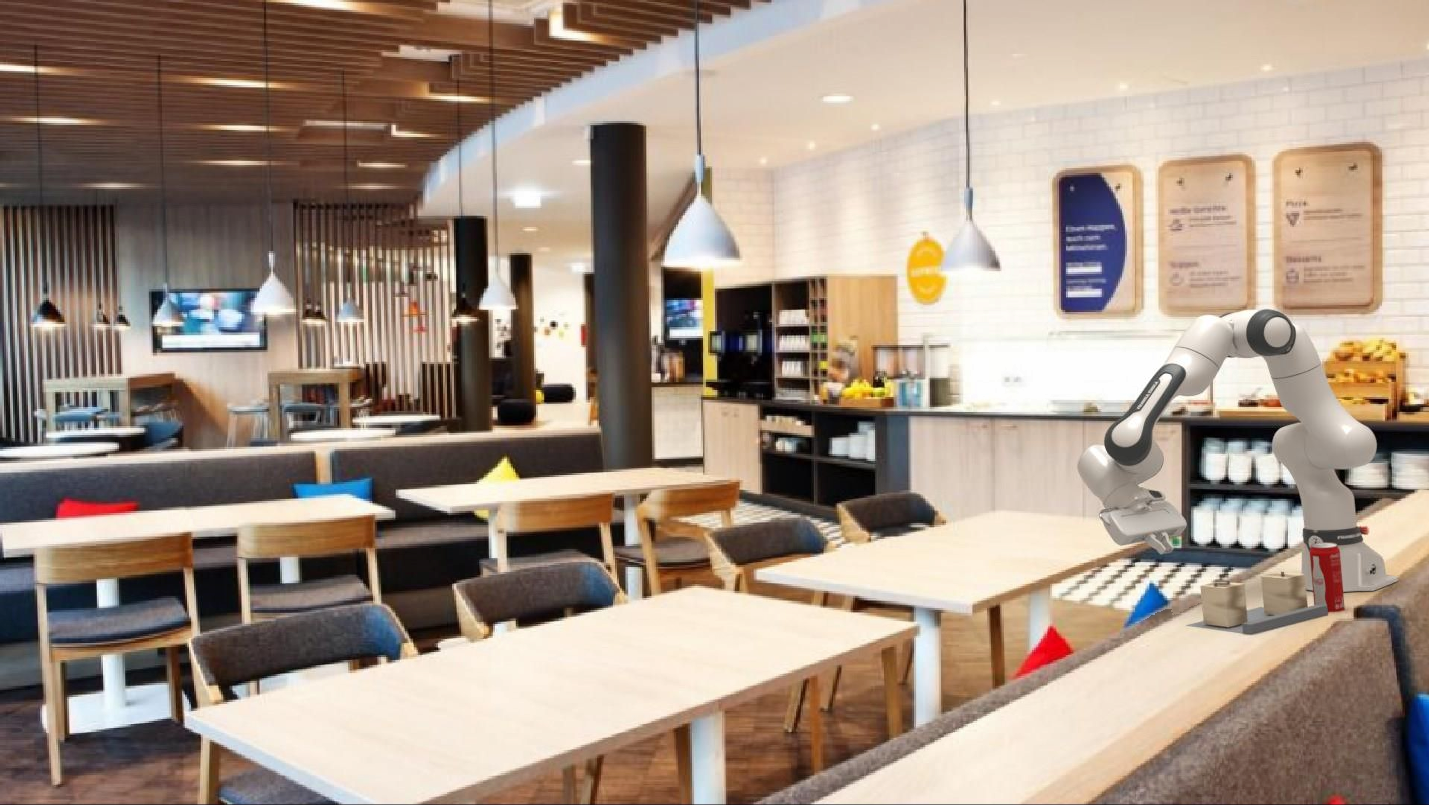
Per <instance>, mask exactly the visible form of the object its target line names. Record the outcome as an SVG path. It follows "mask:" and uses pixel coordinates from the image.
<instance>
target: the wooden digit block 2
mask: <svg viewBox="0 0 1429 805" xmlns="http://www.w3.org/2000/svg"><path fill="white" fill-rule="evenodd" d="M1199 586H1200V587H1199V588H1200V596H1201V597H1200V598H1201V607H1202V616H1203V617H1202V618H1203V619H1202V621H1204V624H1208V625H1215V626H1222V627H1232V626H1235V625H1239V624H1242V623H1246V622H1248V620H1247V610H1248V609H1247V602H1246V601H1247V600H1246V589H1245V588H1246V587H1245V583H1239V582H1231V581H1230V580H1216V581H1215V582H1211V583H1207V584H1202V585H1199Z"/></svg>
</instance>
